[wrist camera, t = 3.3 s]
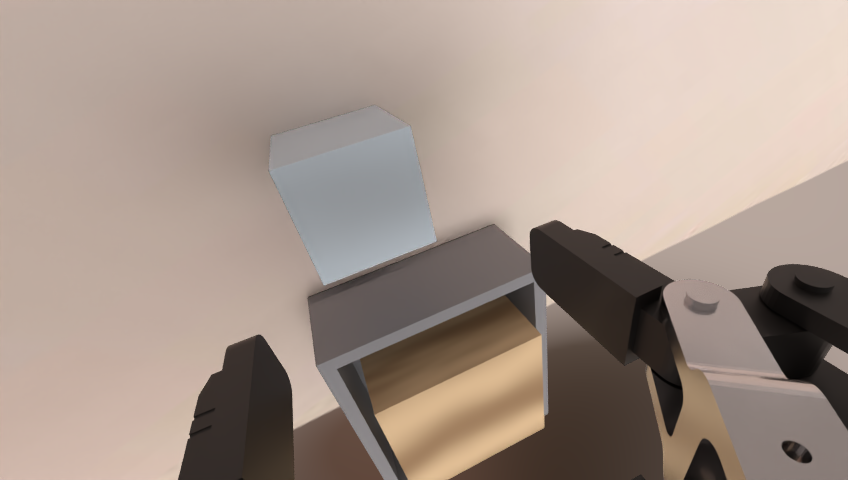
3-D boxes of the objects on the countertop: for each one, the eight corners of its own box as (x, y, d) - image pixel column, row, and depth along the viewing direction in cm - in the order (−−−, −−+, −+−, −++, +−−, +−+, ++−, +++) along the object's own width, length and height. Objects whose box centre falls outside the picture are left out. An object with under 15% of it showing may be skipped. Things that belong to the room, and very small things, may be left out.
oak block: (350, 324, 23) (374, 414, 18) (481, 269, 25) (541, 334, 20) (388, 406, 29) (416, 496, 23) (494, 356, 31) (544, 427, 25)
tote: (307, 297, 22) (316, 366, 17) (493, 224, 25) (545, 266, 20) (375, 425, 31) (393, 495, 26) (509, 360, 33) (548, 413, 28)
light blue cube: (270, 135, 17) (268, 171, 12) (374, 104, 18) (410, 125, 13) (312, 227, 20) (323, 285, 15) (399, 196, 21) (436, 241, 16)
